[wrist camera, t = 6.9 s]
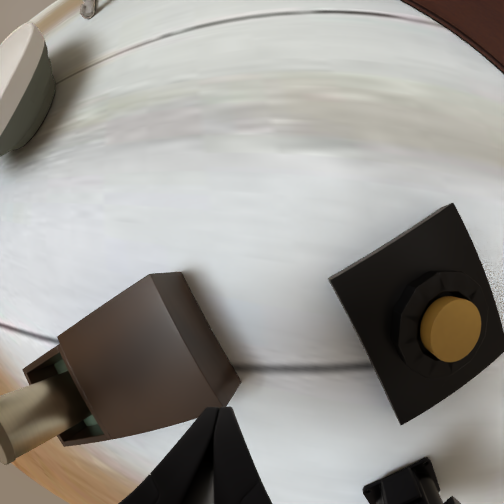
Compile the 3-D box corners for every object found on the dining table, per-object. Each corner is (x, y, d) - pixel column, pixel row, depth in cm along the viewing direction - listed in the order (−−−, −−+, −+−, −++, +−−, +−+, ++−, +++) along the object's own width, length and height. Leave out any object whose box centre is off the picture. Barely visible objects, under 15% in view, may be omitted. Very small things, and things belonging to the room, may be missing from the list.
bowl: (2, 109, 30) (-36, 93, 20) (79, 31, 26) (42, 0, 17) (-3, 206, 28) (-55, 197, 18) (84, 119, 24) (21, 84, 15)
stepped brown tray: (241, 381, 20) (224, 409, 16) (89, 430, 23) (63, 446, 19) (181, 271, 21) (149, 273, 17) (49, 355, 24) (19, 363, 20)
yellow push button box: (494, 342, 16) (520, 354, 12) (394, 412, 18) (407, 438, 14) (440, 207, 18) (465, 196, 14) (327, 278, 19) (331, 282, 15)
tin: (114, 406, 22) (14, 466, 9) (86, 414, 23) (-3, 463, 10) (88, 359, 23) (-22, 399, 10) (64, 372, 23) (-33, 407, 11)
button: (474, 332, 14) (487, 338, 12) (430, 364, 14) (441, 374, 12) (456, 284, 14) (470, 286, 12) (410, 316, 15) (421, 322, 13)
